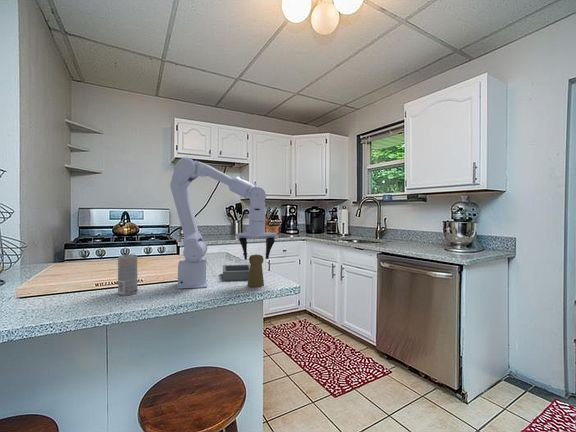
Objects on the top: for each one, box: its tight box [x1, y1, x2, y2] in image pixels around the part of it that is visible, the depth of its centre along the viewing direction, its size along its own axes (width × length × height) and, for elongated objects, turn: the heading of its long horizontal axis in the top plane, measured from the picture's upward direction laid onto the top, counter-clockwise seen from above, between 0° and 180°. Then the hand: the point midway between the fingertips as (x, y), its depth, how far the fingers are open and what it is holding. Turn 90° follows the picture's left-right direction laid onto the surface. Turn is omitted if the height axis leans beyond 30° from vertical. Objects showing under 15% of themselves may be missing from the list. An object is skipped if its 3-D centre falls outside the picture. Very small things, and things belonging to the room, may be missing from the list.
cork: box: [247, 254, 265, 288], centre depth 103 cm, size 6×6×11 cm
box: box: [222, 264, 250, 282], centre depth 113 cm, size 11×11×4 cm
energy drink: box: [117, 253, 138, 297], centre depth 90 cm, size 5×5×12 cm
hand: (256, 258), depth 102 cm, fingers open, 7 cm apart
